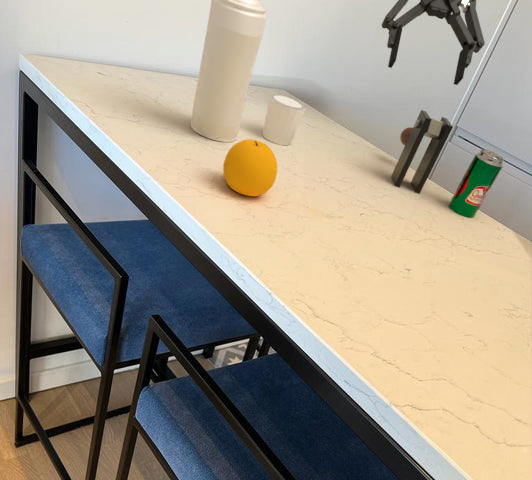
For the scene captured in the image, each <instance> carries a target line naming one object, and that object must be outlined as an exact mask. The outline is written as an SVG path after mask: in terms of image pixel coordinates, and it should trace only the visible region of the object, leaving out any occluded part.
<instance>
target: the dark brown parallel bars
mask: <svg viewBox="0 0 532 480" xmlns="http://www.w3.org/2000/svg"><path fill="white" fill-rule="evenodd" d="M431 118H432V117H430V115H429V114H428V112H427V111H426V110H422V109H420V111H419V114H418V115H417V118H416V120H415V122H414V125H413V126H412V128H413V129H412V131H411V134H410V136H409V138H408V140H407V142H406V145H404V147H403V149H402V152H401V153H400V156H399V158H398V160H397V162H396V164H395V167H394V169H393V171H392V173H391V175H390V178H391V181H392V184H393V186H394V187H396V188H401V185H402V183H403V181H404V179H405V177H406V175H407V173H408V171H409V169H410V166H411V164H412V163H413V160H414V158H415V156H416V153H417V151H418V149H419V147H420V145H421V143H422V141H423V138H424V137H425V136H424V134H425V132H426V130H427V128H428V126H429V124H430V122H431ZM439 121H441V122H443V125H442V128H441V131H440V134H439V136H438V137H435V138H430V139H431V140H430V142H429V143H428V145H427V147H426V150H425V152H424V154H423V156H422V158H421V160H420V162H419V164H418V166H417V169H416V170H415V172H414V175H413V177H412V178H411V181H410V186H411V188H412V190H413V192H414V194H418V195H419V194H421V192H422V190H423V188H424V186H425V184H426V183H427V180H428V178H429V176H430V173H432V172H431V171H432V170H433V168H434V166H435V165H436V162H437V160H438V158H439V156H440V154H441V152H442V151H443V148H444V147H445V144H446V142H447V140H448V137H449V136H450V134H451V132H452V130H453V128H454V126H453V125H452V123H451V122H450V121H449V119H448V118H447V117H443V116H442V117H441V119H440V120H439Z"/></svg>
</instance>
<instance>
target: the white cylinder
mask: <svg viewBox="0 0 532 480" xmlns="http://www.w3.org/2000/svg"><path fill="white" fill-rule="evenodd" d="M305 112H306V105H305V104H304V103H302V102H301V101H299V100H298V99H295V98H293V97H290V96H287V95H284V94H279V93H271V94H270V95H269V100H268V104H267V110H266V114H265V120H264V125H263V129H262V137H263V138H264V139H266V140H267V141H268V142H270V143H273V144H276V145H280V146H290V145H291V144H292V141H293V139H294V137H295V135H296V132H297V131H298V127H299V125H300V123H301V120H302V118H303V116H304V115H305V114H304V113H305ZM289 144H290V145H289Z"/></svg>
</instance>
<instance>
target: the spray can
mask: <svg viewBox="0 0 532 480" xmlns="http://www.w3.org/2000/svg"><path fill="white" fill-rule="evenodd" d="M267 10H268V9H267V8H266V7H265V5H262V4H261V3H260V1H259V0H211V1H210V8H209V15H208V21H207V26H206V31H205V33H206V34H205V37H204V43H203V49H202V55H201V61H200V65H199V72H198V77H197V84H196V88H195V93H194V99H193V106H192V112H191V119H190V127H191V129H192V130H193V131H194V132H195V133H197V134H198V135H200V136H202V137H204V138H206V139H209V140H213V141H216V142H223V143H231V142H235V141H237V140H238V138H239V137H238V136H239V133H240V128H241V124H242V120H243V115H244V110H245V106H246V101H247V95H248V92H249V86H250V82H251V78H252V75H253V71H254V66H255V63H256V59H257V55H258V53H259V49H260V45H261V41H262V39H263V35H264V30H265V25H266V20H267V14H266V12H267Z"/></svg>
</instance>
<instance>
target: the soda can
mask: <svg viewBox="0 0 532 480" xmlns="http://www.w3.org/2000/svg"><path fill="white" fill-rule="evenodd" d="M504 161H505V159H504V157H502V156H501V155H499V154H498V153H496V152H494V151H491V150H488V149H484V148H481V149H479V151H478V152H477V153H476V154H475V155H474V157H473V158H472V160H471V162H470V164H469V166H468V168H467V169H466V171H465V173H464V175H463V177H462V179H461V180H460V182H459V184H458V186H457V188H456V189H455V192H454V193H453V195H452V197H451V199H450V201H449V203H448V204H447V206H448V208H449V209H450V210H451V211H452V212H454V213H455V214H456V215H459V216H461V217H464V218H467V219H473V218H475V216H476V215H477V213H478V211H479V209H480V208H481V206H482V204H483V202H484V200H485V199H486V197H487V196H488V193H489V192H490V190H491V188H492V186H493V185H494V183H495V181H496V180H497V178H498V176H499V174H500V173H501V171H502V169H503V168H504V163H503V162H504Z"/></svg>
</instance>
